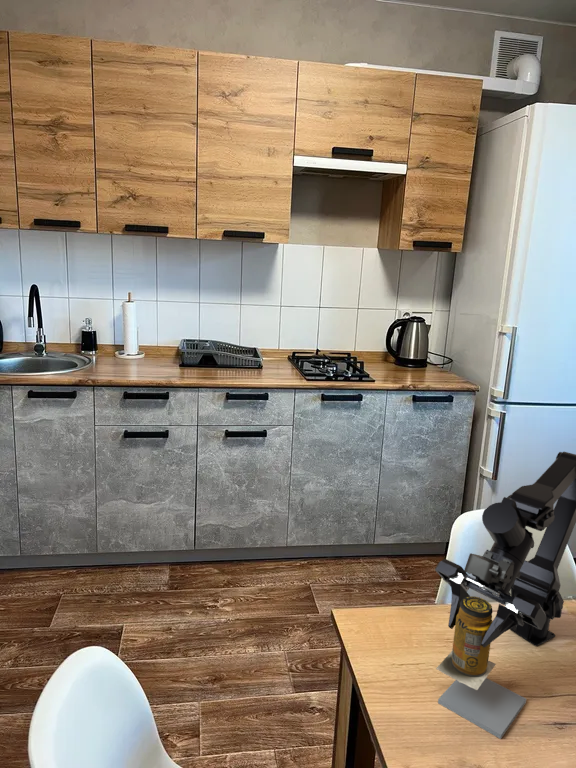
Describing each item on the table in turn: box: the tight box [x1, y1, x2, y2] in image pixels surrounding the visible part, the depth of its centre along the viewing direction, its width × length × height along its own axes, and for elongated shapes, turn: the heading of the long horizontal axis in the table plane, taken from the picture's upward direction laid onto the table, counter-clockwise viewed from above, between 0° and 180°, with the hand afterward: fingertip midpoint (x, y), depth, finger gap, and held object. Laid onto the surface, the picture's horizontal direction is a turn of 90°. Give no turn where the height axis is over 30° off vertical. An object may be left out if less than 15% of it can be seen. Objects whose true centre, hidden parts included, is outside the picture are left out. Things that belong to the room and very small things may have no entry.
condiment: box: [435, 595, 497, 690], centre depth 101 cm, size 7×8×12 cm
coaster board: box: [437, 677, 527, 740], centre depth 102 cm, size 11×11×1 cm
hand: (465, 636), depth 100 cm, fingers closed on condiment, 6 cm apart
